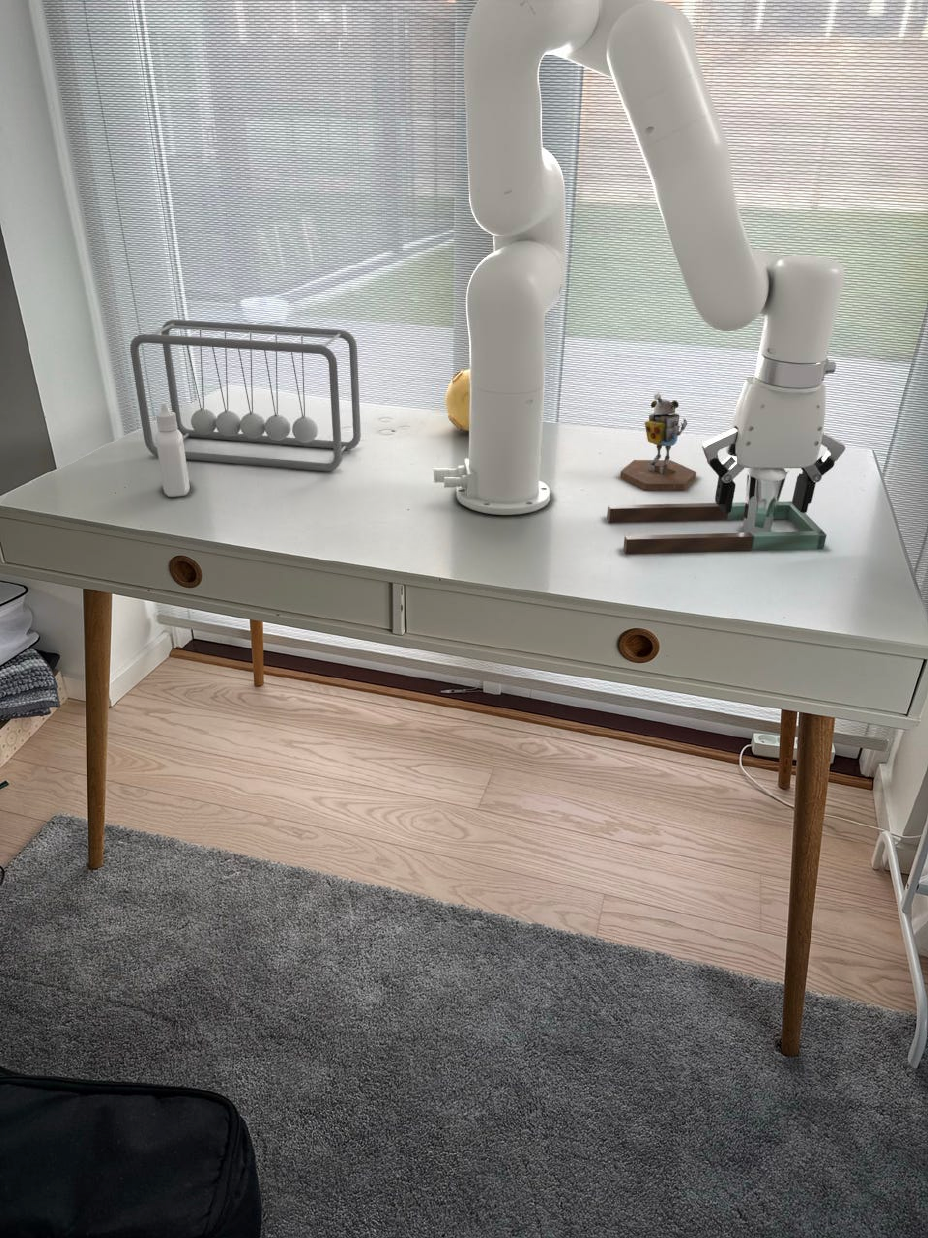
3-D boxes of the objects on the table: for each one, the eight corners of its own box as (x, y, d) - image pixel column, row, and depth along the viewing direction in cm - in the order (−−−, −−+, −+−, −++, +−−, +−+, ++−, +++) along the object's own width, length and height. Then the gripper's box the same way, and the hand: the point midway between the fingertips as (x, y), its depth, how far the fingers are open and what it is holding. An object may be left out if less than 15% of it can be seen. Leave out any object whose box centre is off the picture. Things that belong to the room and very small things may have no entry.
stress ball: (439, 422, 155) (439, 361, 150) (497, 419, 157) (499, 358, 152) (453, 442, 147) (453, 378, 142) (514, 438, 149) (516, 375, 144)
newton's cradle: (362, 449, 144) (357, 329, 135) (341, 473, 135) (334, 347, 126) (177, 434, 149) (161, 317, 140) (145, 456, 140) (126, 334, 131)
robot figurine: (710, 485, 133) (723, 401, 127) (659, 497, 129) (670, 411, 123) (657, 460, 141) (667, 380, 135) (608, 471, 137) (616, 389, 131)
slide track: (625, 554, 113) (627, 539, 112) (606, 519, 122) (608, 504, 121) (823, 549, 115) (827, 534, 114) (790, 515, 124) (793, 501, 123)
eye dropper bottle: (201, 484, 131) (189, 398, 125) (182, 499, 126) (169, 411, 120) (172, 481, 132) (159, 396, 126) (152, 496, 127) (137, 408, 121)
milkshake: (782, 542, 117) (798, 465, 112) (738, 538, 118) (751, 461, 113) (780, 527, 121) (794, 452, 116) (736, 523, 121) (749, 448, 117)
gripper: (847, 363, 113) (816, 496, 122) (705, 362, 112) (684, 497, 120) (876, 381, 107) (841, 520, 115) (726, 380, 105) (702, 521, 114)
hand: (761, 508), depth 118 cm, fingers open, 9 cm apart
